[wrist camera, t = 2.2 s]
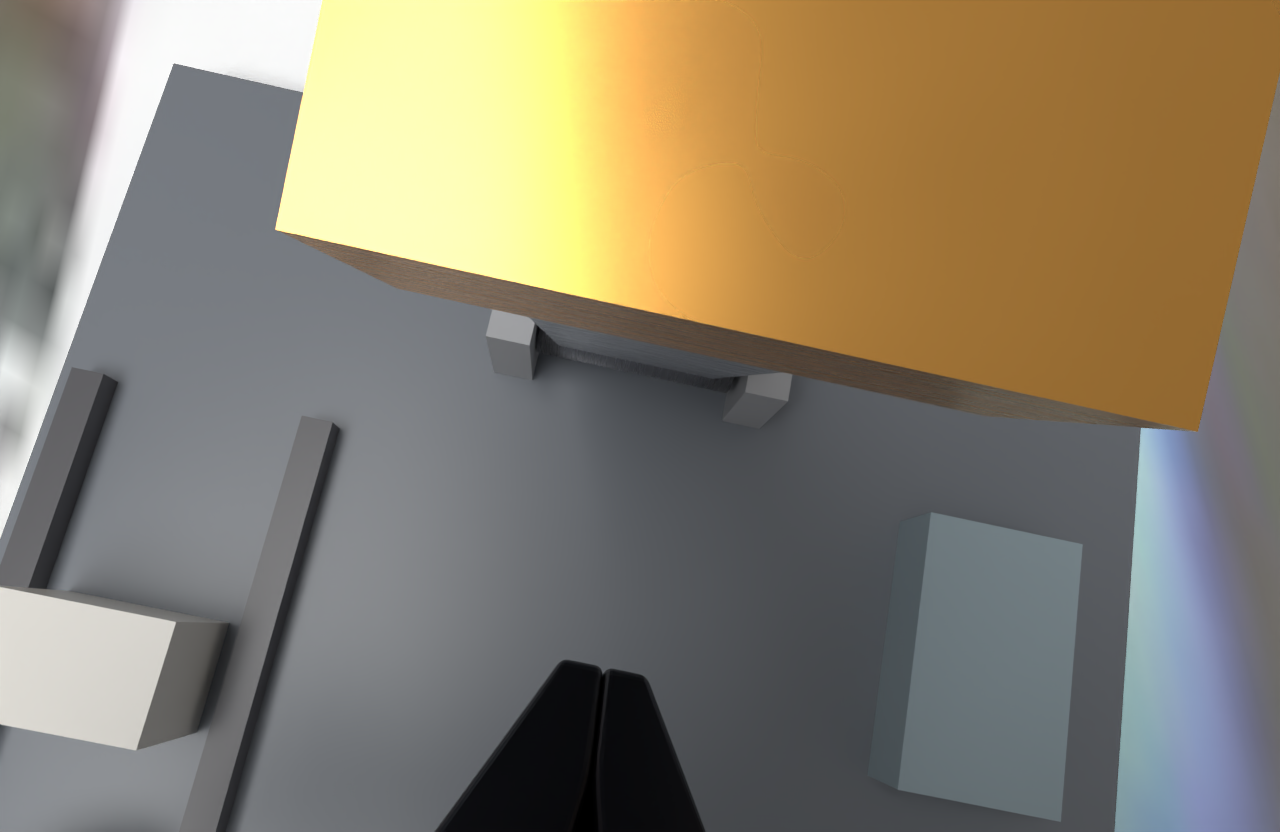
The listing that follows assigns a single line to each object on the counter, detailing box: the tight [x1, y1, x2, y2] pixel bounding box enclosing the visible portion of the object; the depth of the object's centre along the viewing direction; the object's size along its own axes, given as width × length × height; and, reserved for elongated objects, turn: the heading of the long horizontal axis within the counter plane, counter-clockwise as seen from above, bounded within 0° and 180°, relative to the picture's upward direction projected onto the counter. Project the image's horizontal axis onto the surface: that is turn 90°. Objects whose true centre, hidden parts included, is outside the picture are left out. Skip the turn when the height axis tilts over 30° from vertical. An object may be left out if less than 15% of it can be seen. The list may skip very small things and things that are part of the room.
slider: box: [0, 586, 229, 750], centre depth 16 cm, size 2×3×2 cm, turn 79°
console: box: [0, 64, 1141, 832], centre depth 17 cm, size 24×22×4 cm
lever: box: [275, 0, 1280, 432], centre depth 11 cm, size 2×4×16 cm, turn 78°
